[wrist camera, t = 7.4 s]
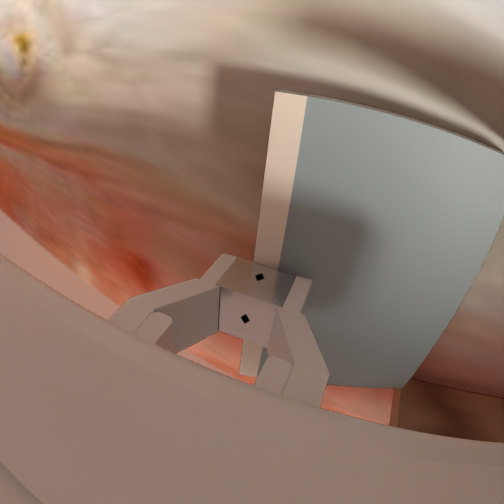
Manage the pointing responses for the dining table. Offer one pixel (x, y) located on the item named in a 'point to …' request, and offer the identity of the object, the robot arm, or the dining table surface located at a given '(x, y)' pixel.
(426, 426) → the crate
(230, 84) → the dining table surface
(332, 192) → the panel
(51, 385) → the robot arm
